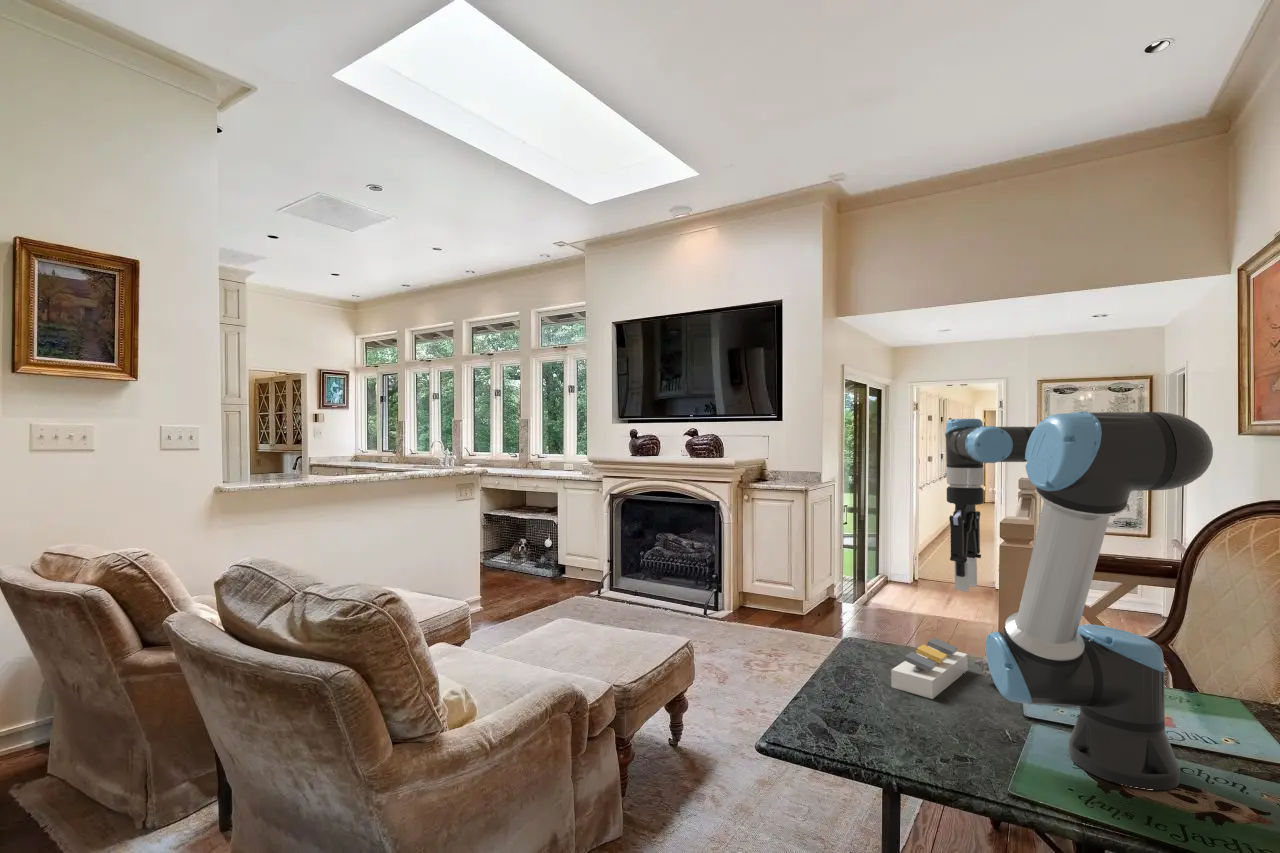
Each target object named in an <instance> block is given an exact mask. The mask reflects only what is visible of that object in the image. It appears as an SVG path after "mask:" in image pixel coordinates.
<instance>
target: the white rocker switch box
mask: <svg viewBox="0 0 1280 853" xmlns="http://www.w3.org/2000/svg"><path fill="white" fill-rule="evenodd" d="M928 647H929V646H928ZM931 648H932V647H931ZM933 649H934V648H933ZM935 650H936V649H935ZM938 651H939V650H938ZM940 652H941V651H940ZM915 653H916V652H915ZM942 653H943V652H942ZM916 654H918V653H916ZM945 654H946V653H945ZM919 655H920V654H919ZM921 656H922V655H921ZM923 657H924V656H923ZM925 658H927V657H925ZM927 659H929V658H927ZM930 660H931V659H930ZM932 661H933V660H932ZM934 662H936V661H934ZM965 671H966V672H968V653H964V652H961V651H957V652H955V653H954V654H953V655H951V656H950V655H948V654H947V659H946V660H944V661H943V662H942V663H938V662H936V667H935V668H933V669H932V670H931V671H929V672H928V671H926V670H924V669H922V668H919V667H917V666H915V665H913V664H911V663H909V662H906V661H903V662H901V663H899V664H898V665H897V666H895V667H893V668H892V669H891V671H890V674H891V676H890V677H891V681H890V682H891V684H890V685H891V688H893V689H896V690H900V691H903V692H906V693H909V694H914V695H917V696H921V697H924V698H926V699H927V698H928V699H931V700H933V699H935V698H936V697H937V696H938V695H939V694H941V693H942V692H943V691H944V690H946V689H947V688H949V686H951V685H952V684H953V683H954V682H955V681H956V680H958V679H959V678H960V677H961V676H963V675H964V674H965V673H966V672H965ZM963 673H964V674H963ZM962 674H963V675H962Z"/></svg>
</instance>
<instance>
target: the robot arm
mask: <svg viewBox="0 0 1280 853" xmlns="http://www.w3.org/2000/svg"><path fill="white" fill-rule="evenodd" d="M944 435H945V455H946V456H945V457H946V458H945V459H946V460H945V461H946V470H945V471H944V475H945V476H946V484H947V485H949V486H947V487H946V502H947V503H949V504H954V506H955V507H954V511H953V512H952V514H953V515H949V516H948V518H949V525H950V557H949V561H951V562H954V591H959V592H960V591H961V592H967V593H969V592H970V587H971V588H977V587H978V562H977V561H978V559H981V558H982V554H980V553H981V541H980V540H981V537H980V536H981V534H980V533H981V532H980V531H981V530H980V527H981V526H980V518H981V512H980V511H978V510H976V505H983V504H984V502H985V499H984V498H985V497H984V495H985V492H984V488H983V487H982V486H984V484H985V481H984V480H985V477H984V474H985V473H984V464H995V463H1026V464H1025V466H1024V467H1025V472H1026V475H1027V478H1028V480H1029V481H1030V483H1031V484H1032V485H1033V486H1035V492H1036V493H1037V495H1038V496H1039V497H1040V498H1041V499H1042V500H1043V505H1042V509H1041V512H1040V518H1039V521H1038V526H1037V529H1036V530H1037V531H1036V535H1035V538H1034V541H1033V547H1032V552H1031V557H1030V560H1029V564H1028V570H1027V573H1026V579H1025V581H1024V586H1023V590H1022V594H1021V595H1022V596H1021V599H1020V604H1019V609H1018V612H1015V613H1013V614H1010V615H1009V616H1008V617H1007V618H1006V620H1005V622H1004V628H1003V631H1002V632H999V631H997V630H996V631H994V632H990V633H988V635H987V636H986V639H985V656H987V662H988V666H989V670H990V673H991V676H992V678H993V681H994V682H993V681H992V682H993V683H994V685H995V688H996V689H997V690H998V692H999V693H1000V695H1001V696H1003V698H1004V699H1006V700H1007V701H1009V702H1013V703H1020V704H1027V705H1028V706H1030V705H1048V706H1073V707H1075V706H1076V707H1079V715H1078V717H1077V720H1076V722H1075V725H1074V727H1073V730H1072V732H1071V734H1070V737H1069V739H1068V756H1069V758H1070V759H1071V760H1072V762H1073V763H1075V765H1077V766H1079V768H1081V769H1082V770H1084V771H1086V773H1087V772H1088V773H1089V774H1091V775H1093V776H1095V777H1098V778H1100V779H1103V780H1105V781H1107V782H1110V781H1111V783H1113V782H1115V783H1114V784H1116V783H1119V784H1123V785H1127V786H1132V787H1138V788H1145V789H1153V790H1164V791H1170V789H1171V790H1174V789H1176V788H1177V787H1178V786H1179V785H1180V783H1181V780H1180V779H1181V777H1180V776H1181V773H1180V772H1181V769H1180V766H1179V764H1178V761H1177V758H1176V756H1175V753H1174V750H1173V749H1172V745H1171V742H1170V740H1169V738H1168V735H1167V732H1166V712H1165V711H1166V704H1165V703H1166V701H1165V699H1166V698H1165V673H1166V672H1167V671H1166V669H1165V668H1166V667H1165V661H1164V654H1163V650H1162V648H1161V647H1160V645H1159V644H1157V643H1156V642H1155V641H1153V640H1151V639H1149V638H1147V637H1145V636H1142V635H1139V634H1136V633H1133V632H1129V631H1127V630H1122V629H1118V628H1116V627H1115V628H1114V627H1110V626H1104V625H1099V624H1091V623H1090V624H1089V623H1085V624H1081V620H1082V616H1083V613H1084V609H1085V606H1086V603H1087V599H1088V596H1089V592H1090V588H1091V584H1092V582H1093V577H1094V574H1095V570H1096V566H1097V564H1098V559H1099V556H1100V553H1101V549H1102V545H1103V542H1104V540H1105V539H1104V538H1105V534H1106V533H1107V528H1108V525H1109V522H1110V521H1109V520H1110V518H1111V516H1115V515H1117V514H1121V513H1122V512H1123V511H1124V510H1126V507H1127V504H1128V501H1129V498H1130V494H1131V492H1133V491H1137V492H1138V491H1140V492H1141V491H1166V490H1172V489H1176V488H1177V489H1178V488H1181V487H1185V486H1187V485H1189V484H1192V483H1193V482H1195V481H1197V480H1198V479H1199V478H1200V477H1202V476H1203V475H1204V473H1206V471H1207V470H1208V468H1209V467H1210V465H1211V463H1212V460H1213V458H1214V457H1213V455H1214V447H1213V443H1212V440H1211V439H1210V435H1208V433H1207V432H1206V430H1205V429H1204V428H1203V427H1202V426H1200V424H1198V423H1197V422H1195V421H1193V420H1192V419H1189V418H1188V417H1186V416H1185V417H1184V416H1182V415H1178V414H1175V413H1171V412H1163V411H1162V412H1161V411H1143V412H1141V411H1140V412H1139V411H1138V412H1137V411H1136V412H1135V411H1131V412H1130V411H1126V412H1124V411H1123V412H1122V411H1117V412H1115V411H1113V412H1110V411H1107V412H1104V411H1103V412H1098V411H1097V412H1095V411H1094V412H1093V411H1092V412H1088V411H1083V410H1081V411H1080V410H1079V411H1074V412H1073V411H1072V412H1068V413H1055V414H1051V415H1050V416H1047V417H1046V418H1044V419H1043V420H1041V421H1040V422H1039V423H1038V424H1037V425H1036V426H995V425H988V426H987V425H983V421H982V420H981V419H979V418H951V419H948V420H947V421H946V425H945V434H944ZM1080 624H1081V625H1080ZM1119 784H1118V785H1119ZM1123 785H1122V786H1123ZM1127 786H1126V787H1127ZM1173 788H1174V789H1173Z"/></svg>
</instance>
